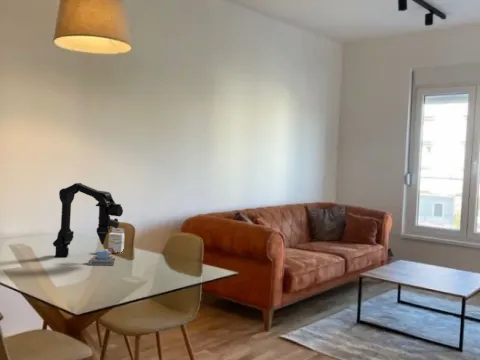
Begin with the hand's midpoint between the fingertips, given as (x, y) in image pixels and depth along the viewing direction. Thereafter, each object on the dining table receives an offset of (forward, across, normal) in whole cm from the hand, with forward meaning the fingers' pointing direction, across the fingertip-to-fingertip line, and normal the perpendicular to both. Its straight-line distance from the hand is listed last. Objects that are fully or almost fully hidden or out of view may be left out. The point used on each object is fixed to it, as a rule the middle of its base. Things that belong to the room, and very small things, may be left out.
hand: (103, 242), depth 281 cm
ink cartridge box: (+12, +26, -6) cm, 29 cm away
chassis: (+11, 0, 0) cm, 11 cm away
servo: (+10, 0, 0) cm, 10 cm away
